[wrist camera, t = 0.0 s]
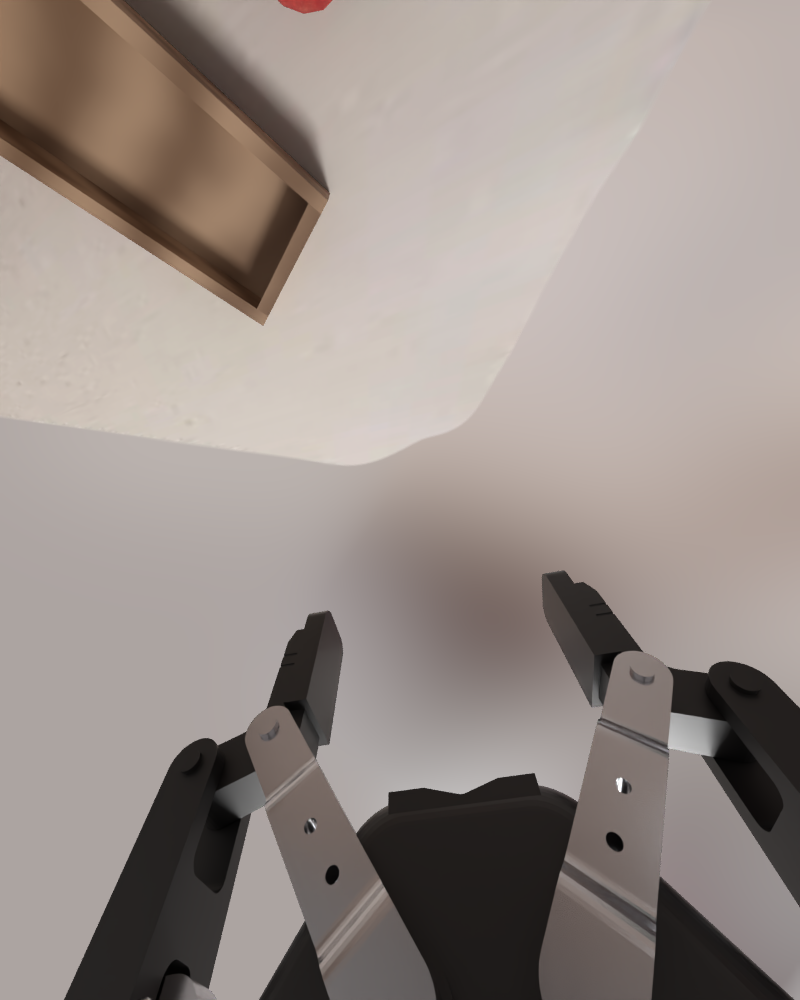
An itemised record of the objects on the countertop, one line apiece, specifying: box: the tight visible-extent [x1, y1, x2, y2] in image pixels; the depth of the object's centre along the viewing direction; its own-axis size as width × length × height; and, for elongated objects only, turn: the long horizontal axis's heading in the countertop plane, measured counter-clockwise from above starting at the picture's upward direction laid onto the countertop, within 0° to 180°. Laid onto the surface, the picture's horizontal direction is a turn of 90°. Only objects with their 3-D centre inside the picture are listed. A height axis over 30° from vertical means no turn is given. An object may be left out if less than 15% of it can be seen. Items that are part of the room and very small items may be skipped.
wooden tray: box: [0, 0, 330, 325], centre depth 25 cm, size 20×11×4 cm, turn 51°
